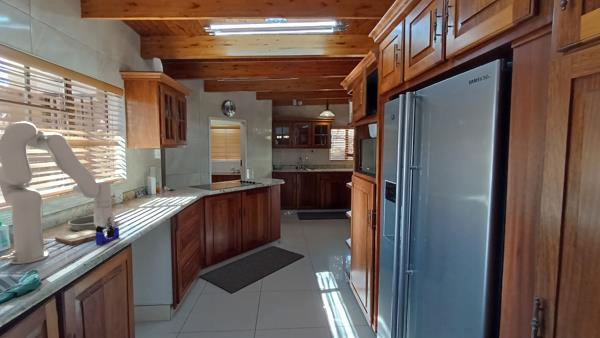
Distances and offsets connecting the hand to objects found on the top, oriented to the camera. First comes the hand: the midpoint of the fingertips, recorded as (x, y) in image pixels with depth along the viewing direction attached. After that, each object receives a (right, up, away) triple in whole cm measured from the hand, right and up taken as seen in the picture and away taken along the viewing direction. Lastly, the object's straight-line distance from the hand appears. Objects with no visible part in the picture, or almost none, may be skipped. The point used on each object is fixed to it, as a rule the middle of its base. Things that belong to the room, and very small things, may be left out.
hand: (105, 236), depth 158 cm
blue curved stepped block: (+1, -3, 0) cm, 3 cm away
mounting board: (-15, -2, +3) cm, 16 cm away
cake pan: (-27, -1, +29) cm, 40 cm away
